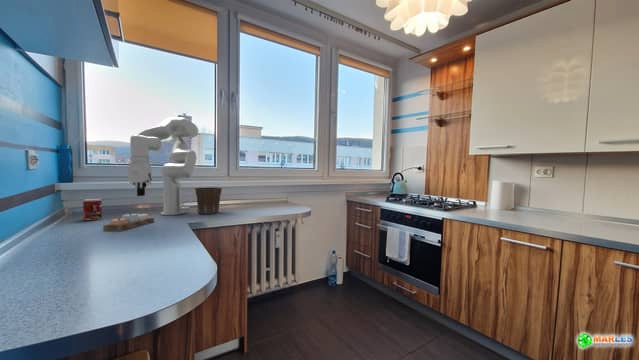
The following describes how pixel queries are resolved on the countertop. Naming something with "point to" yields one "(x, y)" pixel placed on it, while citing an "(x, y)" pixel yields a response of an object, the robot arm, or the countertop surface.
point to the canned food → (92, 208)
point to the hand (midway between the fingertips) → (141, 195)
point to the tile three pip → (118, 221)
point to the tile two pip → (131, 217)
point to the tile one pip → (143, 216)
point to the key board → (127, 225)
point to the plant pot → (208, 200)
